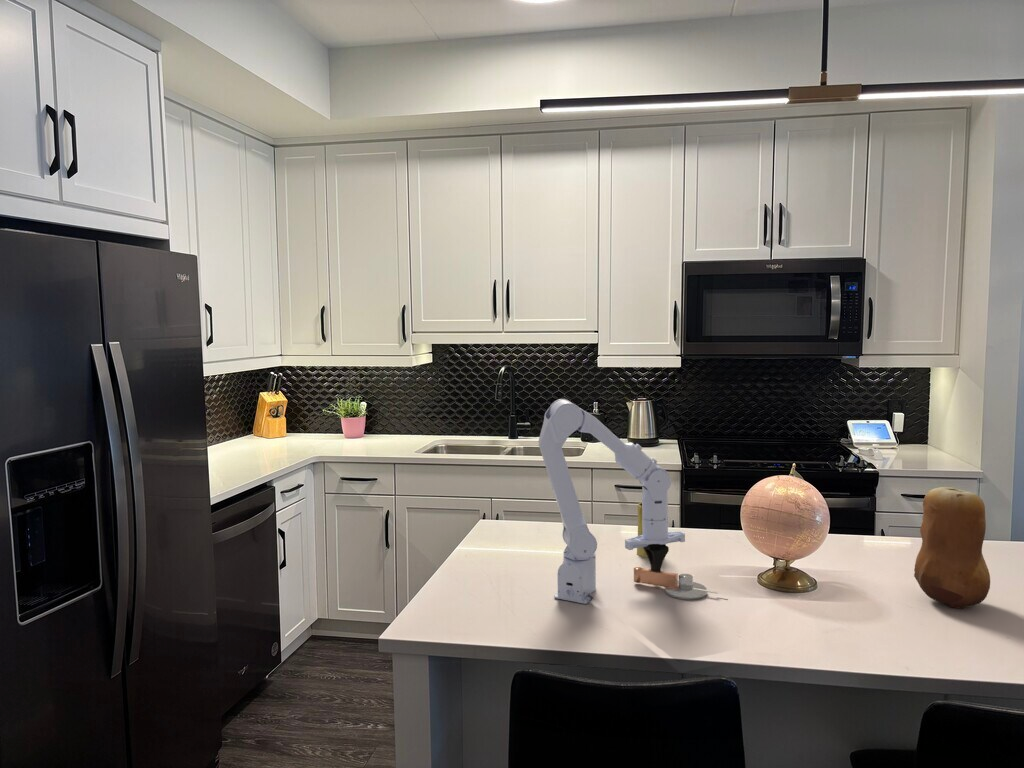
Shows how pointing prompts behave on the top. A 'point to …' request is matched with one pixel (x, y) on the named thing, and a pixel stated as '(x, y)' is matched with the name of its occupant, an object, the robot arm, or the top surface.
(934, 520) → the butternut squash
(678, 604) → the top surface
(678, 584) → the pizza cutter
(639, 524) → the vase
